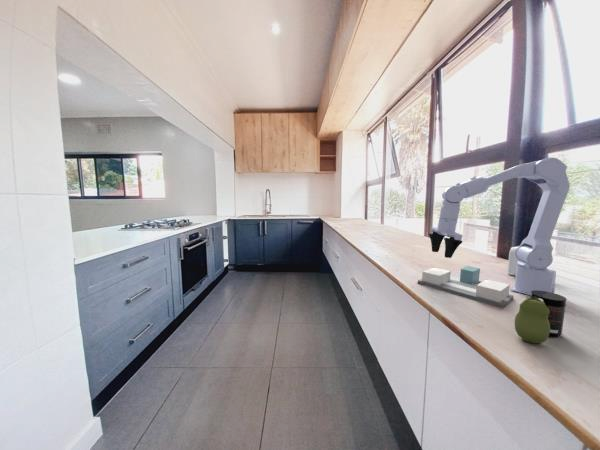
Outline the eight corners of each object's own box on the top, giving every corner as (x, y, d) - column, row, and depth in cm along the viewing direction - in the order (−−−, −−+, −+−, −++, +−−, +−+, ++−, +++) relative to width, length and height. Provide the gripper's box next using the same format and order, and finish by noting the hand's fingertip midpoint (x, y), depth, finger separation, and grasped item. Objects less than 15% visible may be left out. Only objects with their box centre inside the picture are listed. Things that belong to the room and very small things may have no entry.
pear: (547, 340, 53) (552, 297, 52) (549, 352, 49) (555, 305, 48) (513, 331, 57) (517, 290, 55) (512, 340, 53) (517, 297, 52)
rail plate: (513, 298, 75) (514, 284, 74) (502, 307, 69) (504, 293, 68) (431, 277, 95) (432, 266, 95) (417, 282, 89) (418, 271, 88)
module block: (478, 280, 91) (480, 268, 91) (471, 284, 87) (473, 271, 87) (466, 278, 95) (468, 265, 94) (459, 281, 91) (460, 269, 90)
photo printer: (506, 274, 99) (509, 245, 97) (508, 272, 101) (511, 244, 100) (540, 281, 91) (544, 249, 89) (542, 278, 94) (545, 248, 92)
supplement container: (548, 326, 59) (552, 291, 58) (569, 339, 53) (574, 301, 52) (520, 323, 60) (524, 289, 59) (538, 336, 54) (543, 299, 53)
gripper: (426, 215, 94) (420, 248, 96) (451, 221, 80) (443, 259, 82) (443, 217, 95) (436, 250, 97) (471, 222, 80) (462, 261, 82)
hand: (441, 254), depth 89 cm, fingers open, 7 cm apart
